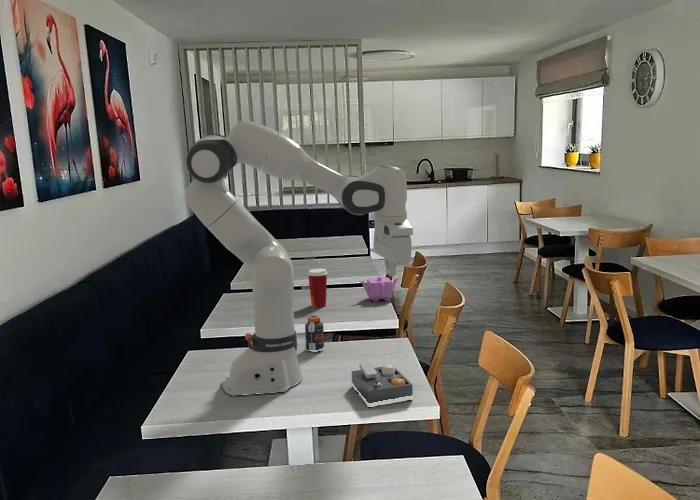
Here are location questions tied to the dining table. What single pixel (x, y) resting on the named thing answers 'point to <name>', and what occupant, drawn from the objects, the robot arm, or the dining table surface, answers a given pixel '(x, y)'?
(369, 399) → the console
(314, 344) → the pill bottle
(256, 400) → the dining table surface
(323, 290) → the coffee cup
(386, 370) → the button ivory
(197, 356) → the dining table surface
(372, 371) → the rocker
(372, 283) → the teapot
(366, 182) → the robot arm
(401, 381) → the button orange
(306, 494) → the dining table surface
